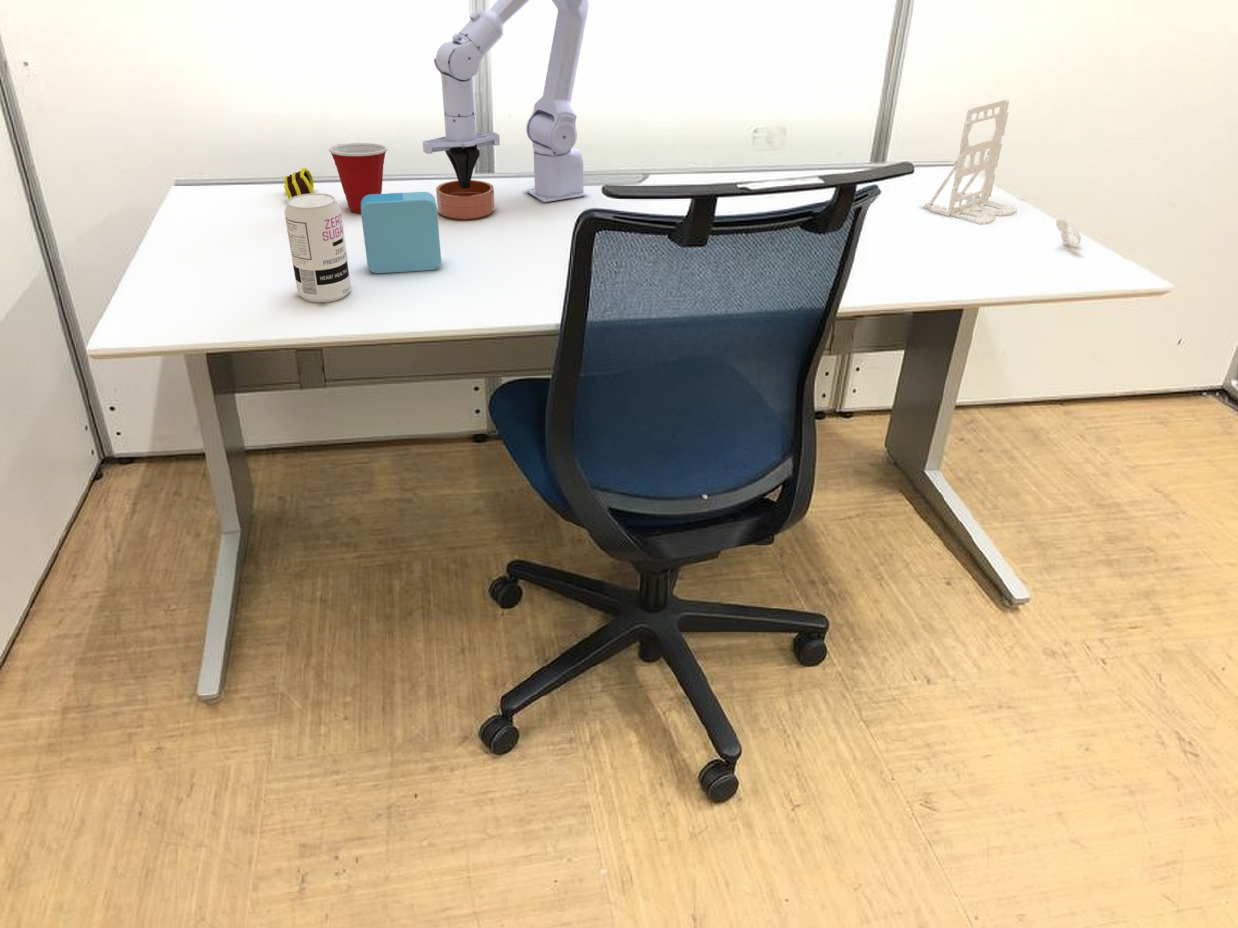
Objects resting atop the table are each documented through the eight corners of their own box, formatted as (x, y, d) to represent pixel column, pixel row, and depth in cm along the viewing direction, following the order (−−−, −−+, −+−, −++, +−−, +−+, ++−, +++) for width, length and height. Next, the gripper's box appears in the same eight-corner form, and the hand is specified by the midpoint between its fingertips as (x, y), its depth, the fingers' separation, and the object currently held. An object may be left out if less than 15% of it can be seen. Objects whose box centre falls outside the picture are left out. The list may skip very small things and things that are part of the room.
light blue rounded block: (440, 260, 172) (434, 190, 166) (442, 269, 169) (436, 199, 162) (368, 264, 170) (359, 194, 164) (368, 274, 166) (359, 203, 160)
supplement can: (303, 284, 162) (288, 192, 154) (355, 283, 163) (343, 191, 155) (293, 304, 156) (277, 209, 148) (348, 303, 156) (335, 208, 148)
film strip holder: (982, 226, 191) (1005, 118, 181) (920, 208, 200) (938, 104, 189) (1022, 211, 199) (1046, 107, 189) (961, 195, 208) (981, 94, 198)
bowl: (480, 200, 201) (479, 177, 198) (503, 215, 193) (502, 192, 190) (429, 208, 196) (427, 184, 194) (451, 224, 188) (449, 200, 186)
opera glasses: (290, 194, 205) (281, 170, 202) (316, 187, 205) (307, 164, 203) (290, 209, 197) (281, 184, 194) (317, 202, 197) (308, 177, 195)
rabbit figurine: (1090, 246, 183) (1085, 238, 176) (1070, 261, 184) (1066, 253, 177) (1069, 222, 185) (1064, 213, 178) (1050, 236, 186) (1044, 228, 179)
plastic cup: (400, 201, 199) (394, 139, 193) (384, 219, 190) (377, 154, 184) (347, 199, 200) (339, 137, 194) (328, 216, 191) (319, 152, 185)
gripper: (430, 122, 179) (436, 198, 186) (505, 114, 185) (508, 187, 192) (416, 114, 184) (422, 188, 191) (489, 106, 190) (493, 178, 197)
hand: (464, 187), depth 192 cm, fingers closed
